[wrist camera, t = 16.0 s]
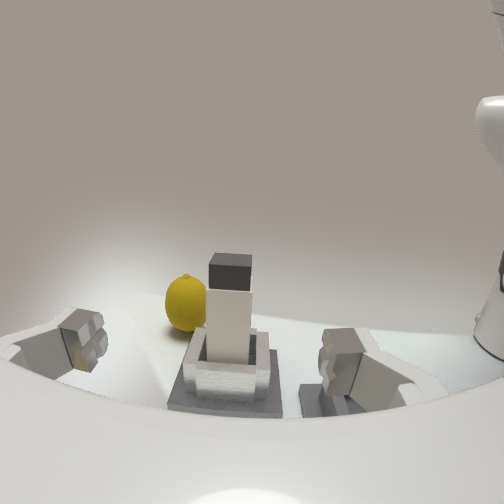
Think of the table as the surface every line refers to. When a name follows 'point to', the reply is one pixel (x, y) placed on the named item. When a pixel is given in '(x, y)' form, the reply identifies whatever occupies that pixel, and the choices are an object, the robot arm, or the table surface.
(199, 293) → the lemon
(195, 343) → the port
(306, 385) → the holster
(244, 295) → the plug
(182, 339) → the table surface
